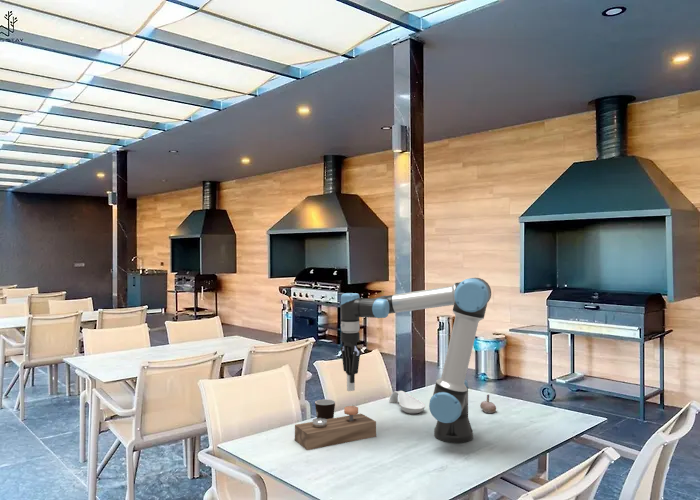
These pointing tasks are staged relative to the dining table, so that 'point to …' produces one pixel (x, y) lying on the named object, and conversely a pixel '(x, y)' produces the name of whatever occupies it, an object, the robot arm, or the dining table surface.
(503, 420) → the dining table surface
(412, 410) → the spoon rest
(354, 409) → the terracotta plunger
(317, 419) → the grey plunger
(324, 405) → the coffee mug
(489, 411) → the garlic bulb
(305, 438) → the button block
